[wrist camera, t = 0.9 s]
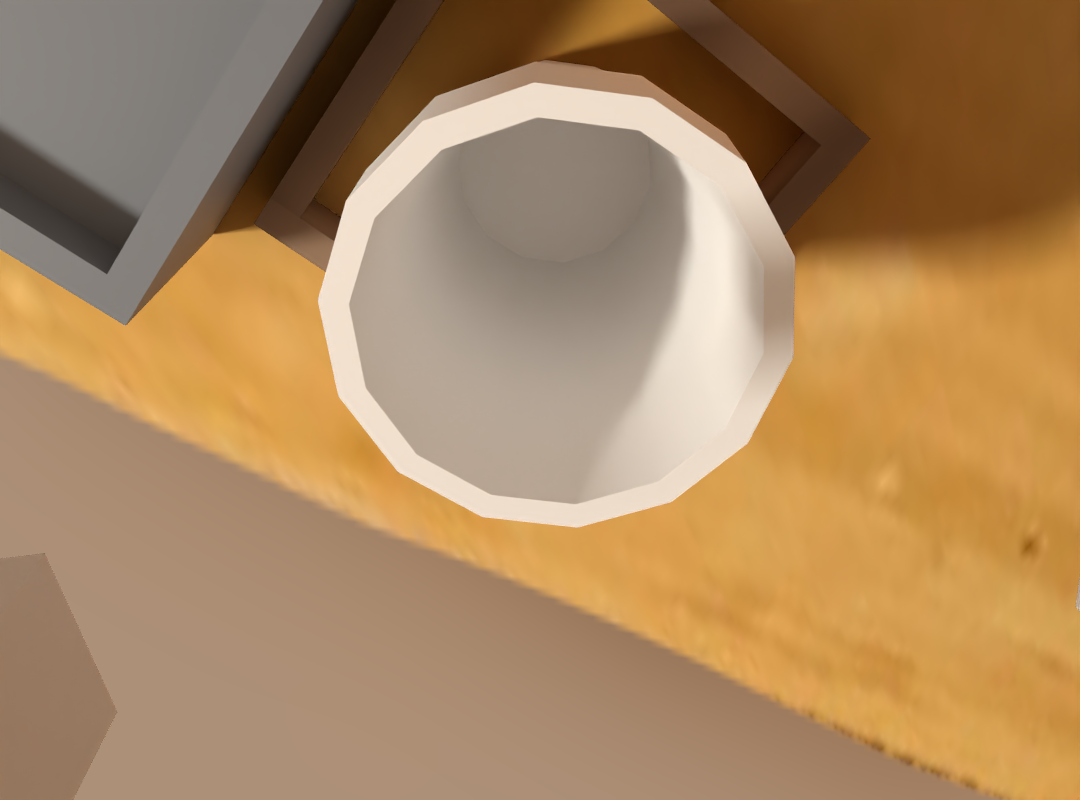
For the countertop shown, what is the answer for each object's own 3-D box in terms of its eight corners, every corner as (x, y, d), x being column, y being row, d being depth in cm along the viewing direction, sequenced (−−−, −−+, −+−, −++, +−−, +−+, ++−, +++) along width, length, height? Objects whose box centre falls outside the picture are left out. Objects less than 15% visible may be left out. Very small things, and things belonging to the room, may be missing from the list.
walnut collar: (852, 123, 31) (870, 138, 29) (589, 420, 36) (591, 449, 34) (509, -169, 27) (506, -173, 25) (270, 204, 32) (253, 223, 30)
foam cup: (351, 205, 32) (240, 387, 20) (504, -63, 28) (474, -25, 17) (596, 353, 34) (620, 591, 23) (767, 122, 31) (897, 267, 19)
